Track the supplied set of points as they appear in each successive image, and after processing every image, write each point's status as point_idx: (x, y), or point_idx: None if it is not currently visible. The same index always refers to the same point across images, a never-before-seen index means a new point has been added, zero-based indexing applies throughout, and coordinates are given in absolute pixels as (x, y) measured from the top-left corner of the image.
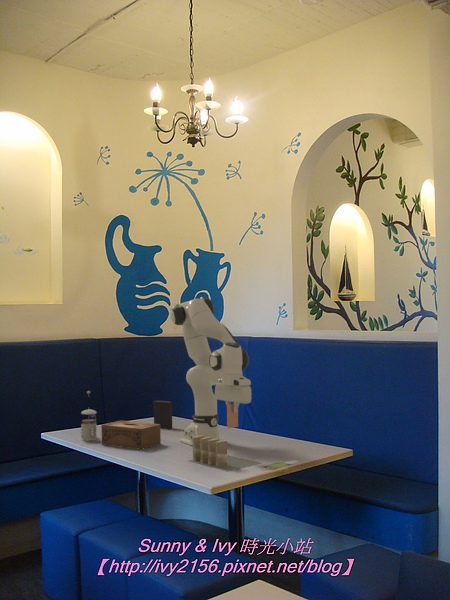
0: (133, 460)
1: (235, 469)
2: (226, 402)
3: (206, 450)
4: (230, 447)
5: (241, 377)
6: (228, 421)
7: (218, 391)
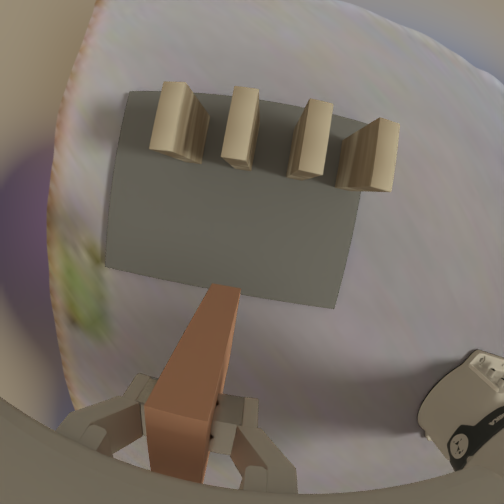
0: (497, 94)
1: (121, 128)
2: (276, 479)
3: (296, 139)
4: (370, 409)
5: None
6: (217, 305)
7: None
